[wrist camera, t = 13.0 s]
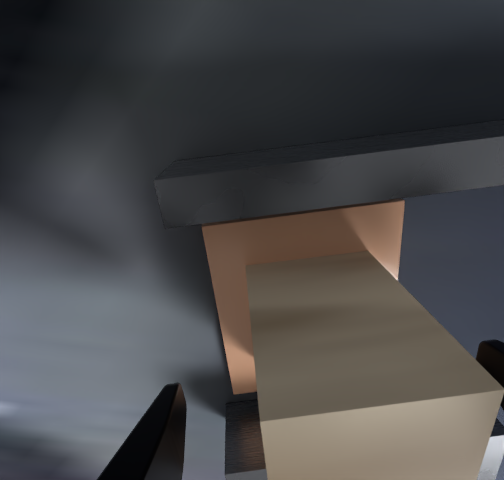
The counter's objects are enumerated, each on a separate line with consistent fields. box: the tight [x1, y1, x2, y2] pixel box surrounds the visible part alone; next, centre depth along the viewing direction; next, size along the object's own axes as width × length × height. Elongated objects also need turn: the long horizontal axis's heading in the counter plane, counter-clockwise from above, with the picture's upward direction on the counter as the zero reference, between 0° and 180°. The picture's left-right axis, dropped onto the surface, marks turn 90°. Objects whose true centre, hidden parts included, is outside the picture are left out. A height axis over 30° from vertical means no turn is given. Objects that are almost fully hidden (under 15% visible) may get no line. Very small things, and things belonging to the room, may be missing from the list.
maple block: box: [245, 251, 504, 480], centre depth 9 cm, size 4×4×6 cm
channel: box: [153, 120, 504, 480], centre depth 14 cm, size 22×25×3 cm
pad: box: [202, 198, 405, 395], centre depth 12 cm, size 7×8×1 cm
